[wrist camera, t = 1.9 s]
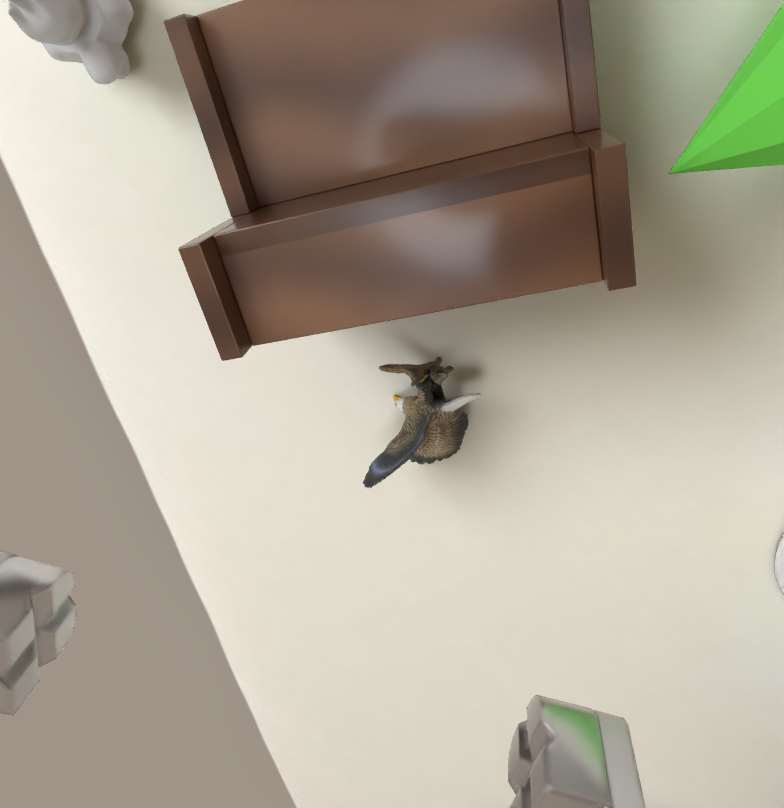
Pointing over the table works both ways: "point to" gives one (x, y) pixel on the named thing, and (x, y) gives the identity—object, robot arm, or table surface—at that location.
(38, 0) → the rubber duck
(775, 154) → the decorative tree
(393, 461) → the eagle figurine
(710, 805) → the table surface
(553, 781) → the robot arm
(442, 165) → the shelf
